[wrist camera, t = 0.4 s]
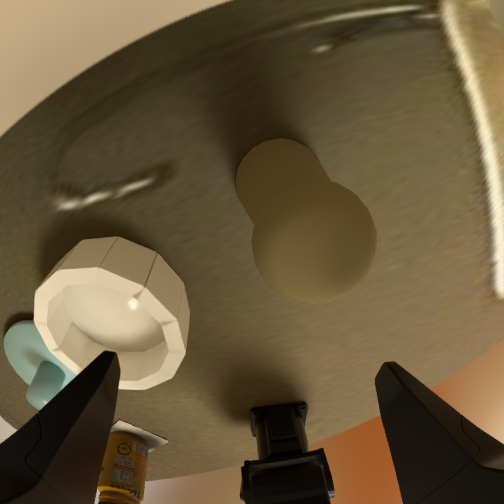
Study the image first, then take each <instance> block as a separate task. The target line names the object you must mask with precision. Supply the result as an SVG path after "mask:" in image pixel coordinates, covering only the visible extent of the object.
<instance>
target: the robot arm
mask: <svg viewBox="0 0 504 504" xmlns="http://www.w3.org/2000/svg"><path fill="white" fill-rule="evenodd" d="M120 374H121V369H120V364H119V359H118V355H117V353H116V352H115V351H109V350H104V351H103V352H102V353H101V354H99V355H98V356H97V357H96V358H95V359H94V360H93V361H92V362H91V363H90V364H89V365H87V366H86V367H85V368H84V369H83V370H82V371H81V372H80V373H79V374H78V375H77V376H76V377H75V378H73V379H72V380H71V381H70V382H69V383H68V384H67V385H66V386H65V387H64V388H63V389H62V390H61V391H60V392H58V393H57V394H56V395H55V396H54V397H53V398H52V399H51V400H50V401H49V402H48V403H47V404H46V405H45V406H44V407H43V408H42V409H40V410H39V411H38V413H36V414H35V415H34V416H33V417H32V418H31V419H30V420H29V421H28V422H27V423H25V424H24V425H23V426H22V427H21V428H20V429H19V430H17V431H16V432H15V433H14V434H13V435H11V436H10V437H9V438H7V439H6V440H5V441H3V442H2V443H1V444H0V504H94V502H95V497H96V492H97V487H98V482H99V478H100V473H101V468H102V464H103V460H104V455H105V451H106V447H107V443H108V439H109V435H110V431H111V427H112V423H113V419H114V414H115V408H116V401H117V394H118V387H119V381H120ZM375 386H376V392H377V397H378V403H379V409H380V414H381V419H382V423H383V426H384V430H385V433H386V437H387V441H388V444H389V448H390V452H391V456H392V460H393V464H394V467H395V471H396V476H397V480H398V484H399V488H400V493H401V497H402V501H403V504H504V444H503V443H501V442H499V441H498V440H496V439H495V438H493V437H492V436H490V435H489V434H487V433H486V432H484V431H483V430H481V429H480V428H478V427H477V426H476V425H474V424H473V423H472V422H470V421H469V420H468V419H466V418H465V417H464V416H463V415H460V413H459V412H457V411H456V410H455V409H454V408H453V407H451V406H450V405H449V404H448V403H446V402H445V401H444V400H443V399H441V398H440V397H439V396H438V395H436V394H435V393H434V392H433V391H431V390H430V389H429V388H428V387H426V386H425V385H424V384H423V383H421V382H420V381H419V380H418V379H416V378H415V377H414V376H413V375H411V374H410V373H409V372H407V371H406V370H405V369H404V368H402V367H401V366H400V365H399V364H397V363H396V362H394V361H391V362H384V363H383V364H382V366H381V368H380V370H379V372H378V373H377V375H376V378H375ZM307 408H308V406H307V403H298V404H290V405H282V406H273V407H263V408H253V409H251V410H250V413H251V424H252V434H253V437H256V440H257V449H258V459H259V460H253V461H249V460H246V461H244V466H243V467H241V472H242V482H241V490H240V499H241V500H242V501H244V502H245V504H331V503H330V498H334V496H335V493H334V485H333V480H332V476H331V472H330V469H329V465H328V462H327V459H326V456H325V453H324V449H323V448H319V449H318V450H314V451H310V450H309V446H308V441H307V436H306V432H305V421H306V415H307Z"/></svg>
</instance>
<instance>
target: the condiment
mask: <svg viewBox="0 0 504 504" xmlns="http://www.w3.org/2000/svg"><path fill="white" fill-rule="evenodd" d="M125 430H127V431H125ZM128 430H130V431H128ZM167 442H168V441H167V440H164V439H163V438H161V437H158V436H156V435H153V434H152V433H149V432H147V431H144V430H142V429H141V428H137V427H135V426H132V425H131V424H129V423H125V422H123V421H121V420H119V421H118V422H117V423H116V424H115V425H114V426H112V427H111V431H110V435H109V439H108V443H107V447H106V451H105V455H104V460H103V464H102V468H101V474H100V478H99V484H98V490H99V492H100V495H99V503H98V504H140V503H141V501H142V500H143V497H144V487H145V486H144V485H145V477H146V469H147V461H148V453H149V452H151V451H152V450H155V449H157V448H158V447H160V446H161V445H163V444H165V443H167Z"/></svg>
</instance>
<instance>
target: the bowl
mask: <svg viewBox="0 0 504 504" xmlns="http://www.w3.org/2000/svg"><path fill="white" fill-rule="evenodd" d="M156 253H157V252H155V251H153V250H150V249H148V248H145V247H143V246H141V245H138V244H136V243H134V242H131V241H129V240H127V239H124V238H122V237H119V238H118V236H115V237H105V238H95V239H85V240H81V241H80V242H79V243H78V244H77V245H76V246H75V247H74V248H72V249H71V250H70V251H69V252H68V253H67V254H66V255H65V256H64V257H63V258H62V259H61V260H60V261H59V262H58V263H57V264H56V266H55V267H54V268H53V269H52V271H51V272H50V273H49V274H48V276H47V277H46V278H45V279H44V281H43V282H42V283H41V285H40V286H39V287H38V289H37V290H36V292H35V305H34V323H35V325H36V327H37V329H38V331H39V333H40V335H41V337H42V339H43V340H44V342H45V344H46V346H47V348H48V350H49V351H50V352H51V353H52V354H53V355H54V356H55V357H56V358H57V359H59V360H60V361H61V362H62V363H63V364H64V365H66V366H67V367H68V368H69V369H70V370H72V371H73V372H74V373H75V374H76V375H77V374H79V373H80V372H81V371H82V370H83V369H84V368H85V367H86V366H87V365H89V364H90V363H91V362H92V361H93V360H94V359H95V358H96V357H97V356H98V355H99V354H101V353H102V352H103V351H104V350H109V351H115V352H116V353H117V355H118V359H119V364H120V369H121V374H120V381H119V387H118V389H131V390H144V389H145V390H146V389H148V388H151V387H153V386H155V385H158V384H160V383H162V382H165V381H167V380H169V379H171V378H173V376H174V374H175V373H176V371H177V369H178V367H179V365H180V363H181V362H182V360H183V358H184V356H185V354H186V346H187V337H188V329H189V321H190V310H189V305H188V300H187V295H186V290H185V284H184V282H183V281H182V280H181V279H180V278H179V276H178V275H177V274H176V273H175V272H174V271H173V270H172V268H171V267H170V266H169V265H168V264H167V263H166V262H165V261H164V259H163V258H162V257H161V256H160V255H159V254H156Z"/></svg>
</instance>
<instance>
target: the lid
mask: <svg viewBox="0 0 504 504" xmlns="http://www.w3.org/2000/svg"><path fill="white" fill-rule="evenodd" d="M4 349H5V353H6V356H7V358H8V360H9V362H10V364H11V365H12V367H13V368H14V370H15V371H16V372H17V374H18V375H19V376H20V377H21V378H22V379H23V380H24V381H25V382H26V383H27V384H28V385H30V386H29V388H28V391H27V393H26V399H27V400H28V402H29V403H30V404H31V405H33V406H34V407H35V408H37V409H39V410H40V409H42V408H43V407H44V406H45V405H46V404H47V403H48V402H49V401H50V400H51V399H52V398H53V397H54V396H55V395H56V394H57V393H58V392H60V391H61V390H62V389H63V388H64V387H65V386H66V385H67V384H68V383H69V382H70V381H71V380H72V379H73V378H75V377H76V376H77V375H78V374H77V375H76V374H75V373H74V372H73V371H72V370H70V369H69V368H68V367H67V366H66V365H64V364H63V363H62V362H61V361H60V360H59V359H57V358H56V357H55V356H54V355H53V354H52V353H51V352H50V351H49V350H48V348H47V346H46V344H45V342H44V340H43V339H42V337H41V335H40V333H39V331H38V329H37V327H36V325H35V323H34V320H22V321H19V322H16V323H15V324H13V325H12V326H11V327H10V329H9V330H8V332H7V333H6V335H5V338H4Z"/></svg>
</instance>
